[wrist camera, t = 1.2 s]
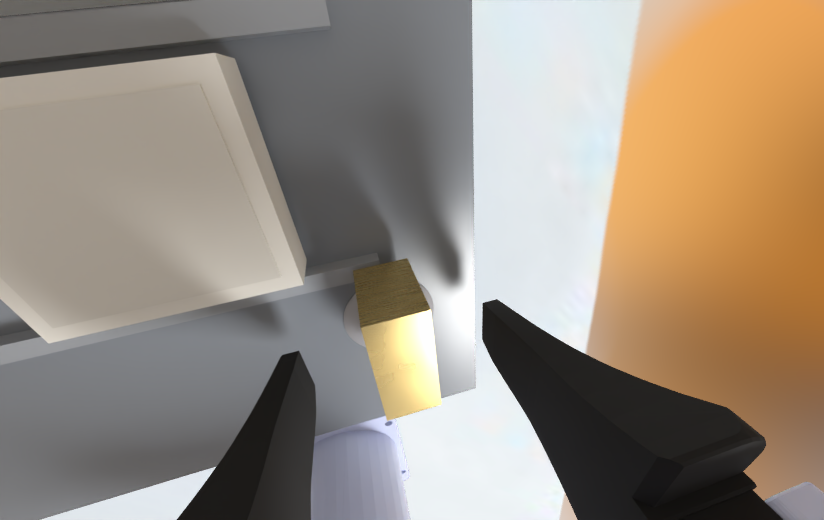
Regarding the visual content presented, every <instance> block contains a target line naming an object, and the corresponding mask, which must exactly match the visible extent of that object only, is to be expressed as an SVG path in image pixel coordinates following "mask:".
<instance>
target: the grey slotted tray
mask: <svg viewBox="0 0 824 520" xmlns="http://www.w3.org/2000/svg"><path fill="white" fill-rule="evenodd" d="M209 53H217V54H221V55H224V56H228V57H231V58H235V60H236V63H237V66H238V69H239V72H240V74H241V77H242V80H243V83H244V86H245V88H246V91H247V94H248V97H249V100H250V102H251V105H252V108H253V111H254V114H255V116H256V119H257V122H258V125H259V128H260V130H261V133H262V136H263V139H264V142H265V144H266V147H267V150H268V153H269V156H270V158H271V161H272V164H273V167H274V170H275V172H276V175H277V178H278V181H279V184H280V186H281V189H282V192H283V195H284V198H285V200H286V203H287V206H288V209H289V212H290V214H291V217H292V220H293V223H294V226H295V228H296V231H297V234H298V237H299V240H300V242H301V245H302V248H303V251H304V254H305V256H306V259H307V261H306V270H305V278H304V285H301V286H297V287H292V288H288V289H284V290H279V291H275V292H271V293H266V294H262V295H257V296H253V297H249V298H244V299H240V300H236V301H231V302H227V303H223V304H218V305H214V306H210V307H205V308H201V309H197V310H192V311H188V312H184V313H179V314H175V315H171V316H166V317H162V318H158V319H153V320H149V321H145V322H140V323H136V324H132V325H127V326H123V327H118V328H114V329H110V330H105V331H101V332H97V333H92V334H88V335H84V336H79V337H75V338H71V339H66V340H62V341H58V342H53V343H49V344H48V343H47V342H46V341H45V340H44V339H43V338H42V337H41V336H40V335H39V334H38V333H37V332H35V331H34V330H33V329H32V328H31V327H30V326H29V325H28V324H27V323H26V322H25V321H24V320H23V319H21V318H20V317H19V316H18V315H17V314H16V313H15V312H14V311H13V310H12V309H11V308H10V307H9V306H7V305H6V304H5V303H4V302H3V301H2V300H1V299H0V520H40V519H44V518H47V517H50V516H53V515H57V514H60V513H63V512H67V511H70V510H73V509H77V508H80V507H83V506H87V505H90V504H93V503H96V502H100V501H103V500H106V499H110V498H113V497H116V496H120V495H123V494H126V493H130V492H133V491H136V490H140V489H143V488H146V487H149V486H153V485H156V484H159V483H163V482H166V481H169V480H173V479H176V478H179V477H183V476H186V475H189V474H192V473H196V472H199V471H202V470H206V469H209V468H212V467H216V466H217V465H218V464H219V462H220V461H221V460H222V458H223V457H224V455H225V454H226V452H227V451H228V449H229V447H230V446H231V444H232V443H233V441H234V440H235V438H236V436H237V435H238V433H239V431H240V430H241V428H242V427H243V425H244V423H245V422H246V420H247V418H248V417H249V415H250V413H251V412H252V410H253V408H254V406H255V404H256V403H257V401H258V399H259V397H260V395H261V394H262V392H263V390H264V388H265V386H266V384H267V382H268V380H269V378H270V377H271V375H272V373H273V371H274V369H275V367H276V365H277V363H278V361H279V359H280V357H281V356H282V355H284V354H288V353H292V352H296V351H299V352H300V354H301V356H302V358H303V360H304V362H305V365H306V367H307V369H308V371H309V373H310V375H311V378H312V380H313V382H314V384H315V392H316V426H315V436H318V435H322V434H325V433H328V432H331V431H335V430H338V429H341V428H345V427H348V426H351V425H355V424H358V423H361V422H365V421H368V420H371V419H375V418H378V417H381V416H384V415H385V412H384V408H383V405H382V401H381V398H380V394H379V391H378V387H377V384H376V380H375V377H374V373H373V370H372V366H371V363H370V359H369V356H368V352H367V349H366V345H365V342H364V338H363V335H362V331H361V327H360V320H359V313H358V305H357V298H356V291H355V283H354V276H353V270H357V269H361V268H366V267H370V266H375V265H379V264H383V263H388V262H392V261H396V260H401V259H405V258H407V259H408V261H409V263H410V265H411V267H412V270H413V272H414V274H415V276H416V278H417V280H418V283H419V285H420V287H421V289H422V291H423V294H424V296H425V298H426V300H427V302H428V304H429V307H430V309H431V315H432V324H433V333H434V342H435V351H436V360H437V369H438V378H439V387H440V396H441V398H444V397H447V396H451V395H454V394H457V393H461V392H464V391H467V390H470V389H474V388H476V381H475V279H474V176H473V73H472V0H174V1H163V2H152V3H142V4H131V5H120V6H109V7H99V8H88V9H77V10H66V11H56V12H45V13H34V14H23V15H12V16H2V17H0V78H6V77H14V76H22V75H31V74H39V73H48V72H56V71H65V70H73V69H82V68H90V67H99V66H107V65H116V64H124V63H133V62H141V61H150V60H158V59H167V58H175V57H184V56H192V55H201V54H209Z"/></svg>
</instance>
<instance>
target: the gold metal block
mask: <svg viewBox="0 0 824 520" xmlns="http://www.w3.org/2000/svg"><path fill="white" fill-rule="evenodd" d="M353 276H354V283H355V291H356V298H357V305H358V313H359V320H360V327H361V331H362V335H363V338H364V342H365V345H366V349H367V352H368V356H369V359H370V363H371V366H372V370H373V373H374V377H375V380H376V384H377V387H378V391H379V394H380V398H381V401H382V405H383V408H384V412H385V415H386V419H387V421H389V420H392V419H395V418H398V417H402V416H405V415H408V414H412V413H415V412H418V411H421V410H425V409H428V408H431V407H435V406H438V405H441V396H440V387H439V378H438V369H437V360H436V351H435V342H434V333H433V324H432V315H431V309H430V307H429V304H428V302H427V300H426V298H425V296H424V294H423V291H422V289H421V287H420V285H419V283H418V280H417V278H416V276H415V274H414V272H413V270H412V267H411V265H410V263H409V261H408V259H407V258H405V259H401V260H396V261H392V262H388V263H383V264H379V265H375V266H370V267H366V268H361V269H357V270H353Z"/></svg>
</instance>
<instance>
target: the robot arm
mask: <svg viewBox="0 0 824 520" xmlns="http://www.w3.org/2000/svg"><path fill="white" fill-rule="evenodd" d="M482 340H483V342H484V344H485V346H486V348H487V350H488V353H489V355H490V357H491V359H492V361H493V363H494V364H495V366H496V367H497V369H498V371H499V372H500V374H501V375H502V377H503V379H504V380H505V382H506V383H507V385H508V387H509V388H510V390H511V391H512V393H513V394H514V396H515V398H516V399H517V401H518V402H519V404H520V405H521V407H522V409H523V410H524V412H525V414H526V415H527V417H528V419H529V420H530V422H531V424H532V426H533V428H534V430H535V432H536V434H537V436H538V438H539V440H540V441H541V443H542V445H543V447H544V449H545V451H546V453H547V455H548V457H549V460H550V462H551V464H552V466H553V468H554V470H555V472H556V474H557V476H558V478H559V480H560V482H561V484H562V487H563V489H564V491H565V493H566V495H567V497H568V499H569V502H570V504H571V506H572V508H573V510H574V513H575V515H576V517H577V519H578V520H824V493H823V492H822V491H821V490H819V489H818V488H817V487H816V486H814V485H813V484H812V483H809V482H804V483H802V484H799V485H797V486H795V487H792V488H790V489H787V490H785V491H782V492H780V493H778V494H776V495H773V496H772V497H770V498H768V499H766V500H765V501H763V500H762V499H761V498H760V497H759V496H758V495H757V494H756V493H755V492H754V491H753V489H755V488H756V487H757V486H756V484H755V483H754V482H753V481H752V480H751V479H750V478H749V477H748V476H747V475H746V474H745V473H744V472H743V471H744V470H745V469H746V468H747V467H748V466H749V465H750V464H751V463H752V462H753V461H754V460H755V459H756V458H757V457H758V456H759V455H760V454H761V452H762V451H763V450H764V448H765V446H766V441H765V439H764V437H763V436H762V435H760V434H759V433H758V432H757V431H756V430H754V429H753V428H752V427H751V426H749V425H748V424H747V423H746V422H745V421H743V420H742V419H741V418H740V417H738V416H737V415H736V414H735V413H733V412H732V411H731V410H730V409H728V408H727V407H723V406H720V405H717V404H714V403H710V402H707V401H703V400H700V399H697V398H694V397H691V396H687V395H684V394H681V393H678V392H675V391H672V390H669V389H667V388H664V387H661V386H658V385H656V384H653V383H650V382H648V381H645V380H642V379H640V378H637V377H634V376H632V375H630V374H627V373H625V372H623V371H620V370H618V369H615V368H613V367H611V366H609V365H607V364H604V363H602V362H600V361H598V360H596V359H594V358H592V357H590V356H588V355H586V354H584V353H582V352H580V351H578V350H576V349H574V348H572V347H571V346H569V345H567V344H565V343H564V342H562V341H560V340H558V339H557V338H555V337H553V336H552V335H550V334H548V333H547V332H545V331H544V330H542V329H540V328H539V327H537V326H536V325H534V324H533V323H531V322H530V321H528V320H527V319H525V318H524V317H522V316H521V315H519V314H518V313H516V312H515V311H513V310H512V309H510V308H509V307H507V306H506V305H505V304H503V303H502V302H500V301H499V300H497V299H496V300H493V301H489V302H485V303H483V326H482ZM315 426H316V392H315V384H314V382H313V380H312V378H311V375H310V373H309V371H308V369H307V367H306V365H305V362H304V360H303V358H302V356H301V354H300V352H299V351H296V352H292V353H288V354H284V355H282V356H281V357H280V359H279V361H278V363H277V365H276V367H275V369H274V371H273V373H272V375H271V377H270V378H269V380H268V382H267V384H266V386H265V388H264V390H263V392H262V394H261V395H260V397H259V399H258V401H257V403H256V404H255V406H254V408H253V410H252V412H251V413H250V415H249V417H248V418H247V420H246V422H245V423H244V425H243V427H242V428H241V430H240V431H239V433H238V435H237V436H236V438H235V440H234V441H233V443H232V444H231V446H230V447H229V449H228V451H227V452H226V454H225V455H224V457H223V458H222V460H221V461H220V462H219V464H218V465H217V467H216V468H215V470H214V471H213V472H212V474H211V475H210V477H209V478H208V479H207V481H206V482H205V484H204V485H203V486H202V488H201V489H200V490H199V492H198V493H197V494H196V496H195V497H194V498H193V500H192V501H191V502H190V503H189V505H188V506H187V507H186V509H185V510H184V511H183V513H182V514H181V515H180V516H179V518H178V519H177V520H411V519H410V514H409V509H408V504H407V498H406V493H405V488H404V483H403V481H405V480H407V479H408V478H409V477H410V473H409V469H408V465H407V461H406V457H405V454H404V450H403V446H402V442H401V438H400V434H399V430H398V426H397V423H396V419H392V420H389V421H387V419H386V415H384V416H381V417H378V418H375V419H371V420H368V421H365V422H361V423H358V424H355V425H351V426H348V427H345V428H341V429H338V430H335V431H331V432H328V433H325V434H322V435H318V436H315Z"/></svg>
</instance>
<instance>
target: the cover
mask: <svg viewBox="0 0 824 520" xmlns="http://www.w3.org/2000/svg"><path fill="white" fill-rule="evenodd" d="M306 261H307V259H306V256H305V254H304V251H303V248H302V245H301V242H300V240H299V237H298V234H297V231H296V228H295V226H294V223H293V220H292V217H291V214H290V212H289V209H288V206H287V203H286V200H285V198H284V195H283V192H282V189H281V186H280V184H279V181H278V178H277V175H276V172H275V170H274V167H273V164H272V161H271V158H270V156H269V153H268V150H267V147H266V144H265V142H264V139H263V136H262V133H261V130H260V128H259V125H258V122H257V119H256V116H255V114H254V111H253V108H252V105H251V102H250V100H249V97H248V94H247V91H246V88H245V86H244V83H243V80H242V77H241V74H240V72H239V69H238V66H237V63H236V60H235V58H231V57H228V56H224V55H221V54H217V53H209V54H201V55H192V56H184V57H175V58H167V59H158V60H150V61H141V62H133V63H124V64H116V65H107V66H99V67H90V68H82V69H73V70H65V71H56V72H48V73H39V74H31V75H22V76H14V77H6V78H0V299H1V300H2V301H3V302H4V303H5V304H6V305H7V306H9V307H10V308H11V309H12V310H13V311H14V312H15V313H16V314H17V315H18V316H19V317H20V318H21V319H23V320H24V321H25V322H26V323H27V324H28V325H29V326H30V327H31V328H32V329H33V330H34V331H35V332H37V333H38V334H39V335H40V336H41V337H42V338H43V339H44V340H45V341H46V342H47V343H48V344H49V343H53V342H58V341H62V340H66V339H71V338H75V337H79V336H84V335H88V334H92V333H97V332H101V331H105V330H110V329H114V328H118V327H123V326H127V325H132V324H136V323H140V322H145V321H149V320H153V319H158V318H162V317H166V316H171V315H175V314H179V313H184V312H188V311H192V310H197V309H201V308H205V307H210V306H214V305H218V304H223V303H227V302H231V301H236V300H240V299H244V298H249V297H253V296H257V295H262V294H266V293H271V292H275V291H279V290H284V289H288V288H292V287H297V286H301V285H304V278H305V270H306Z"/></svg>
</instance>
